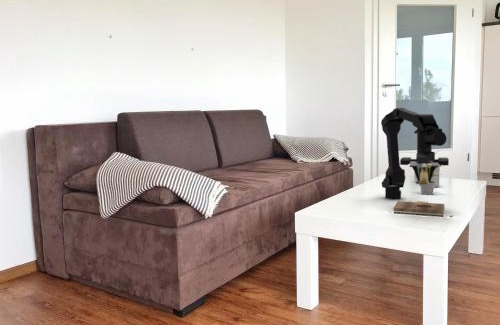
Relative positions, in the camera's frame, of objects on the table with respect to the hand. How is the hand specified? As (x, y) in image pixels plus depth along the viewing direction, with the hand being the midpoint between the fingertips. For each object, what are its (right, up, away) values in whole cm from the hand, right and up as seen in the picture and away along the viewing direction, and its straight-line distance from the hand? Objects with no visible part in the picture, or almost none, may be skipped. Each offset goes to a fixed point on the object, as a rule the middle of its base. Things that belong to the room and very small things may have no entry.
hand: (424, 181), depth 192 cm
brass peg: (0, -1, 0) cm, 1 cm away
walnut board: (0, -12, +5) cm, 13 cm away
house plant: (+16, -8, +36) cm, 40 cm away
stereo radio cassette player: (+26, -5, +64) cm, 69 cm away
